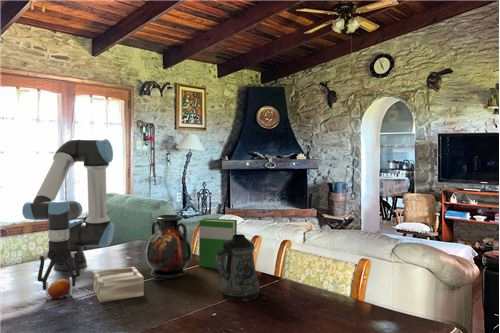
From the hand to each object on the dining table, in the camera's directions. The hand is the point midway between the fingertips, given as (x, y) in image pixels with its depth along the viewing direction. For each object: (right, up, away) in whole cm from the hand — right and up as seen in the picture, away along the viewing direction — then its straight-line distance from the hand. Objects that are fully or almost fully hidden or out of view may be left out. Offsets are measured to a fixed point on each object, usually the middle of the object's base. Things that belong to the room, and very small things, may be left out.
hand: (59, 295), depth 162 cm
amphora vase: (+37, 0, +32) cm, 49 cm away
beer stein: (+71, -2, +5) cm, 72 cm away
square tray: (+21, -1, +7) cm, 22 cm away
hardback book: (+59, 0, +47) cm, 76 cm away
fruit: (0, -1, 0) cm, 1 cm away
